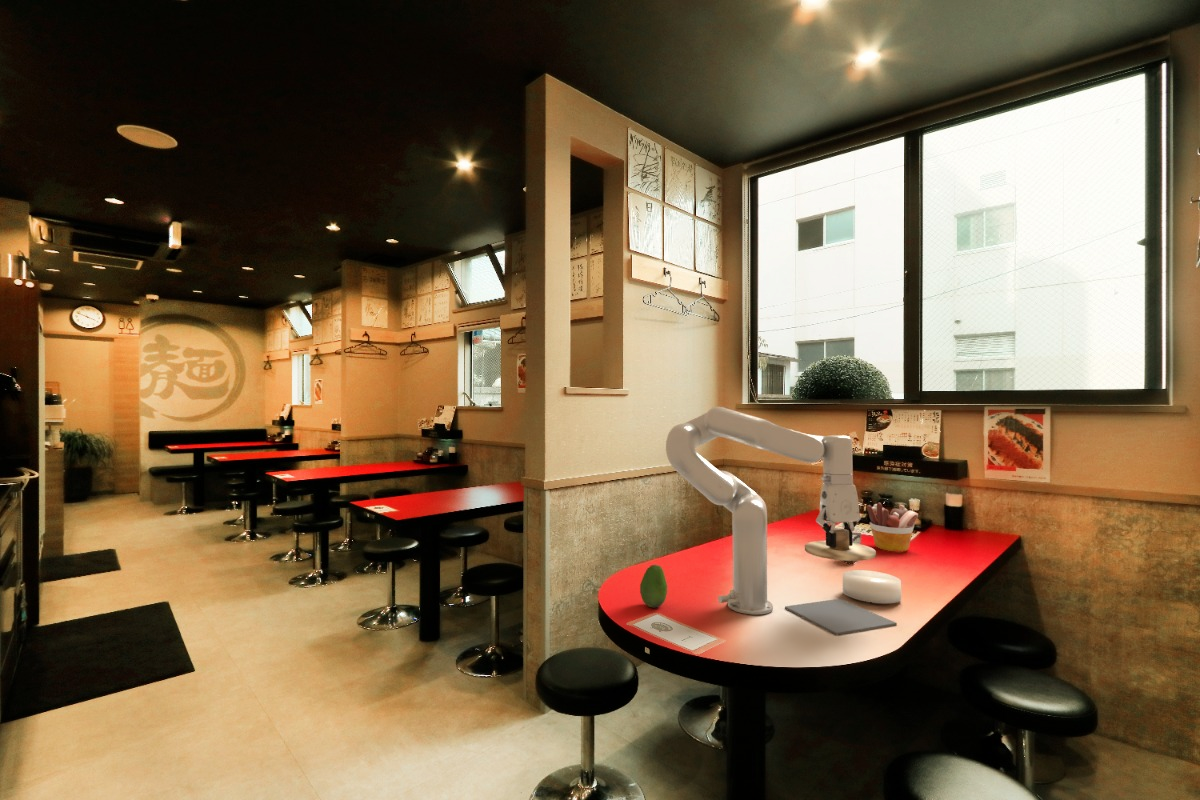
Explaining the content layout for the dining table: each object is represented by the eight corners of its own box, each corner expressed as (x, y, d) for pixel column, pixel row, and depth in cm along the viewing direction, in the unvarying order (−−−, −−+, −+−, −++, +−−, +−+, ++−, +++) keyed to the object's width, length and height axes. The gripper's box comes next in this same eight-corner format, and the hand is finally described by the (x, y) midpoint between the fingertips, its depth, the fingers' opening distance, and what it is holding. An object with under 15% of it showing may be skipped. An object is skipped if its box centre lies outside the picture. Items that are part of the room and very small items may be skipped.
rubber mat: (836, 635, 138) (836, 632, 138) (784, 608, 157) (784, 606, 157) (896, 625, 145) (896, 622, 145) (840, 600, 164) (840, 598, 164)
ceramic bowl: (872, 609, 156) (871, 588, 156) (831, 592, 171) (830, 572, 171) (914, 603, 162) (913, 582, 162) (870, 586, 177) (870, 568, 177)
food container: (844, 556, 214) (844, 530, 215) (861, 558, 211) (861, 532, 211) (835, 562, 205) (834, 536, 205) (852, 565, 201) (852, 538, 201)
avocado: (672, 606, 158) (672, 564, 159) (655, 613, 153) (655, 570, 153) (651, 599, 164) (651, 559, 164) (634, 606, 158) (634, 564, 159)
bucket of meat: (886, 542, 237) (886, 496, 238) (925, 550, 223) (924, 501, 224) (857, 548, 227) (857, 500, 228) (896, 557, 213) (895, 505, 214)
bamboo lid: (837, 563, 140) (837, 539, 140) (791, 547, 157) (790, 526, 157) (891, 556, 146) (891, 534, 146) (840, 542, 163) (840, 521, 163)
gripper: (823, 483, 145) (824, 551, 145) (872, 480, 151) (873, 546, 151) (803, 479, 152) (804, 545, 152) (851, 477, 158) (852, 540, 158)
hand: (839, 545), depth 151 cm, fingers closed on bamboo lid, 5 cm apart
